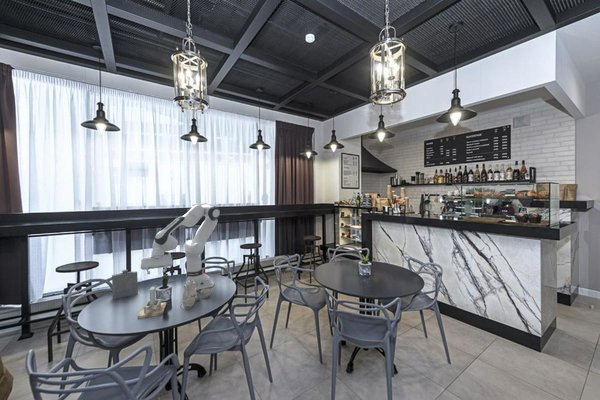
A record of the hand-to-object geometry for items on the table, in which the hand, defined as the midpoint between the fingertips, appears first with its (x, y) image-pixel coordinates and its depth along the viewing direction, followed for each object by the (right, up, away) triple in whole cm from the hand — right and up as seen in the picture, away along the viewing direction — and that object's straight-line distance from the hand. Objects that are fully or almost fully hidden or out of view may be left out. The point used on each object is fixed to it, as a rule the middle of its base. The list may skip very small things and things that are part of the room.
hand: (156, 273), depth 173 cm
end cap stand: (+4, -22, -10) cm, 25 cm away
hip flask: (-32, -22, +14) cm, 42 cm away
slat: (+4, -21, -10) cm, 24 cm away
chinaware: (+25, -22, +4) cm, 34 cm away
